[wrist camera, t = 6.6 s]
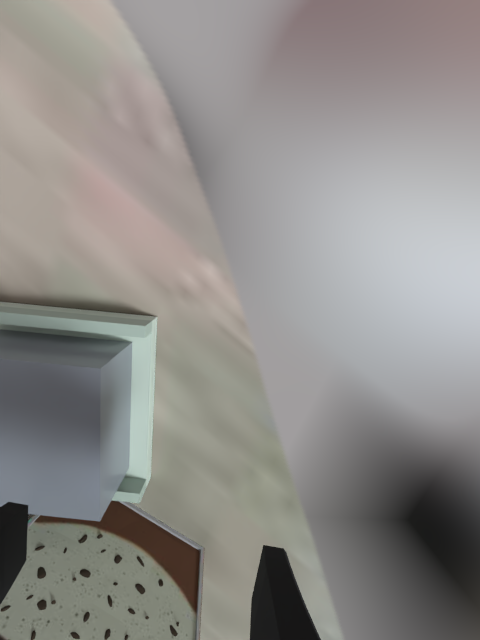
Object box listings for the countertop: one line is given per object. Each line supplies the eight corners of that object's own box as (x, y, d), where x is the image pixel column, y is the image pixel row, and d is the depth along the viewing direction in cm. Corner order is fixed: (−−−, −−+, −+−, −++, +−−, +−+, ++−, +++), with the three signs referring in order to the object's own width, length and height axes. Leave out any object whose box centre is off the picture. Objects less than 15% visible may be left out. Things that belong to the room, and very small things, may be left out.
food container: (10, 526, 23) (-171, 741, 13) (56, 457, 22) (-106, 636, 12) (171, 620, 24) (116, 881, 14) (223, 560, 23) (201, 799, 13)
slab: (129, 467, 20) (99, 521, 16) (8, 455, 20) (-49, 505, 17) (132, 342, 19) (100, 368, 15) (1, 329, 19) (-65, 352, 15)
